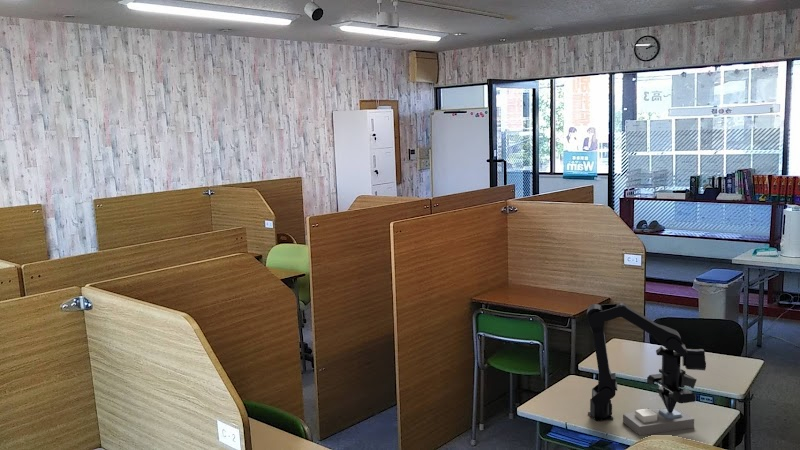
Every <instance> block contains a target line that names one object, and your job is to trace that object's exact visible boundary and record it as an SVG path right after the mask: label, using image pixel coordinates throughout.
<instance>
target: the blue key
mask: <svg viewBox="0 0 800 450" xmlns="http://www.w3.org/2000/svg"><path fill="white" fill-rule="evenodd" d="M659 414H661V415H662V416H664V417H665V418H666V419H674V418H681V415H682V414H680V413H679V412H677V411H676V410H674V409H673V411H672V412H671V413H669V412H668V411H667V409H663V410H659Z"/></svg>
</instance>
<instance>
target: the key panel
mask: <svg viewBox="0 0 800 450" xmlns="http://www.w3.org/2000/svg"><path fill="white" fill-rule="evenodd" d="M663 409H666V407H664V408H657V409H651V410H652V411H653V412H654V413H656V414H657V421H653V422H646V423H643V422H641V421H640V420H639V419H637V418H636V417H635V411H633V412H627V413H623V414H622V423H623V424H625V426H627V427H628V428H630V429H631V430H632V429H633V430H634V431H633V430H632V431H633V432H634V433H636V432H637V433H638V434H639V436H644V435H645V436H646V435H651V434H652V435H653V434H658V433H665V432H666V433H667V432H672V431H679V430H686V429H693V428H695V418H694V417H692V416H691V415H689V414H688V413H686V412H685V411H683V410H682V409H680V408H678V407H677V406H675V407H674V410H676V411H677V412H679V413H680V414H682V415H681V418H674V419H666V418H665V417H664V416H662V415H661V414H659V410H663ZM637 433H636V434H637ZM638 434H637V435H638Z"/></svg>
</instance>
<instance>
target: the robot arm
mask: <svg viewBox="0 0 800 450" xmlns="http://www.w3.org/2000/svg"><path fill="white" fill-rule="evenodd" d="M617 318H622V319H624V320H625V321H627V322H628V323H631V324H632V325H634V326H635V327H637V328H639V329H641V330H643V331H644V332H645V333H647V334H650V336H652V337H653V338H654V339H655V340H656V341H657V342H658V343H659V344H660V345H661V346H659V348H658V349H656V350H655V353H656V356H661V368H659V369H658V373H655V374H649V375H648V376H647V377H646V383H647V384H649V386H654V385H655V383H656V384H657V386H658V389H656V392H657V393H658V395H659V397H660V398H661V400H662V403H663V405H664V406H665V407H664V408H666V409H667V411H668V412H669V413H671V412H672V411H673V409H674V407H676V404H677V403H679V404H687V403H695V402H696V401H697V395H696V394H695V393H694V392H693V391H692V390H689V389H688V388H686V387H689V388H691V389H695V386H696V382H697V378H695V377H694V376H691V375H689V374H688V373H687V372H686V370H691V371H693V370H694V371H706V370H707V369H706V368H707V361H706V354H705V353H706V352H705V350H704V349H703V348H698V349H695V348H694V349H693V348H687V347H686V344H684V343H683V341H682V337H681V335H680V333H679V332H678V331H677V329H674V328H672V327H668V326H666V325H662V324H658V323H656V322H655V321H653V320H651V318H648V317H647V316H645V315H643V314H641V313H639V312H638V311H636V310H635V309H634V308H632V307H630V306H628V305H627V304H626V303H624V302H618V303H617V302H616V303H605V304H598V303H594V304H591V305H589V307H588V308H587V311H586V320H587V322H588V325H589V328H590V330H591V333H592V337H593V344H594V350H595V356H596V364H597V370H598V377H597V378H598V379H597V380H598V382H597V384H596V385H595V386H594V387H593V388H592V389H591V398H590V399H589V405H590V407H589V410H590V411H587V415H588V416H589V417H591V418H592V419H593V420H594V421H596V422H604V421H608V420H609V421H610V420H614V416H613V403H612V400H611V399H613V398H614V397H615V396H616V391H618V382H617V376H616V374H617V373H616V372H613V373H612V371H611V368H610V364H609V358H608V357H609V356H608V351H607V349H608V348H607V344H606V343H607V341H606V337H605V322H608V321H611V320H614V319H617ZM681 362H682V364H681ZM681 365H682V366H683V367H685V369H686V370H684V369H681ZM685 386H686V387H685ZM682 388H683V389H682ZM684 388H685V389H684Z"/></svg>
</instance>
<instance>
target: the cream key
mask: <svg viewBox="0 0 800 450" xmlns="http://www.w3.org/2000/svg"><path fill="white" fill-rule="evenodd" d="M652 410H653V409H650V408H643V409H635V411H634V412H635V417H636V418H637V419H639V420H640V421H641V422H643V423H646V422H653V421H657V414H656V413H654V412H653V411H652Z"/></svg>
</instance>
